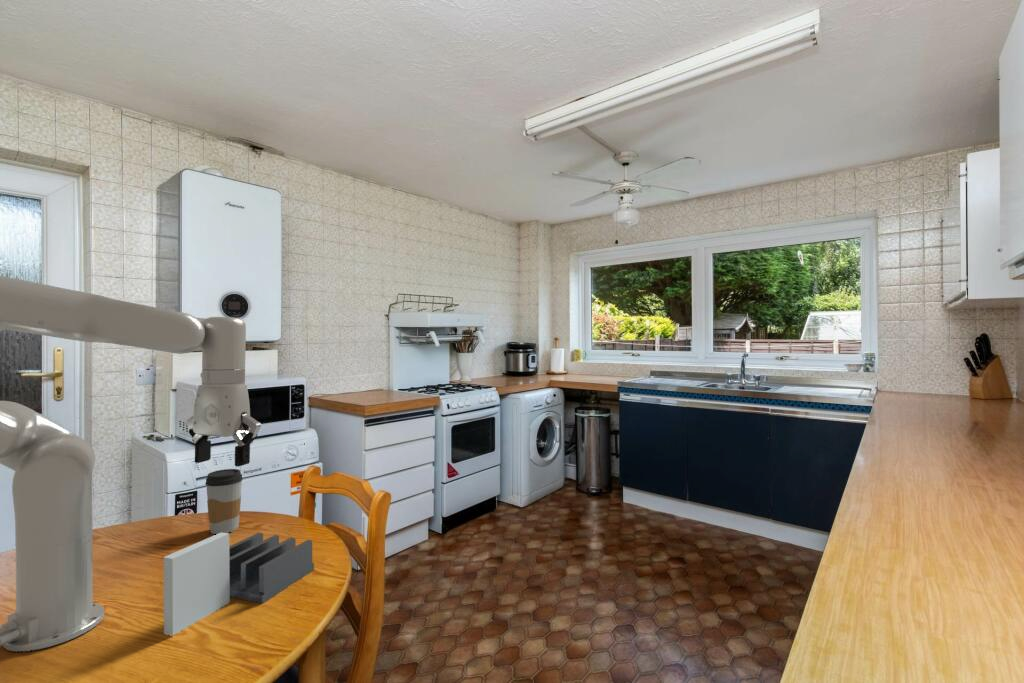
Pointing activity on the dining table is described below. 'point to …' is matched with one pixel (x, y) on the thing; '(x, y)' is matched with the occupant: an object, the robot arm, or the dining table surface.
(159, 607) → the dining table surface
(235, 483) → the coffee cup
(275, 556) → the dish rack
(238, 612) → the dining table surface
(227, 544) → the plate
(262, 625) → the dining table surface
